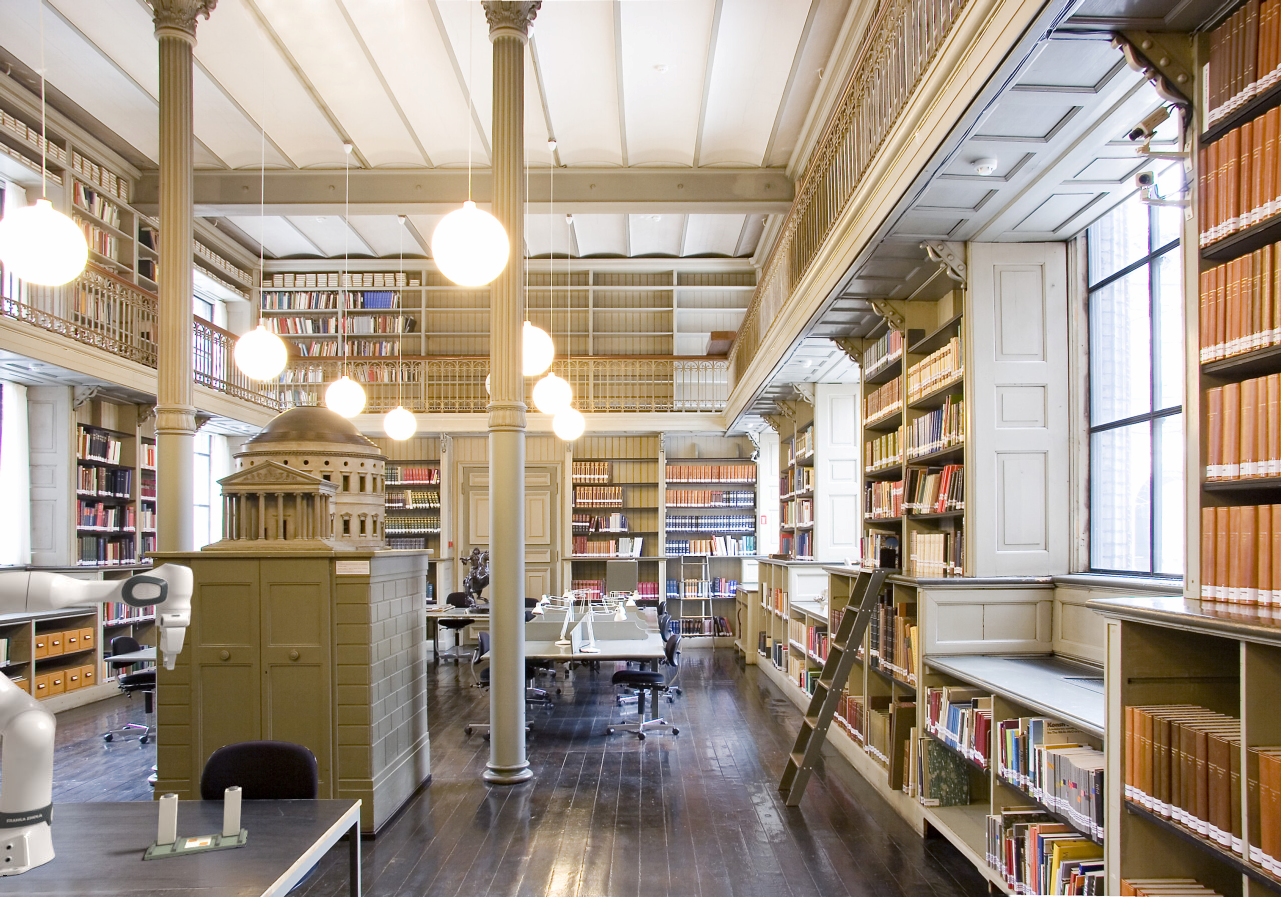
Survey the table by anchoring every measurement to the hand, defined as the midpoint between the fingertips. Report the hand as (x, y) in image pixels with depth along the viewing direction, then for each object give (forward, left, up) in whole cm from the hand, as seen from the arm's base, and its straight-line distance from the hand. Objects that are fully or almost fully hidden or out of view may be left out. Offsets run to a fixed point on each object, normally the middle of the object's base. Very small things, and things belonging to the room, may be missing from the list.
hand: (168, 668), depth 240 cm
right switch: (+17, -11, -46) cm, 50 cm away
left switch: (+1, -8, -46) cm, 46 cm away
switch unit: (+9, -13, -47) cm, 49 cm away
